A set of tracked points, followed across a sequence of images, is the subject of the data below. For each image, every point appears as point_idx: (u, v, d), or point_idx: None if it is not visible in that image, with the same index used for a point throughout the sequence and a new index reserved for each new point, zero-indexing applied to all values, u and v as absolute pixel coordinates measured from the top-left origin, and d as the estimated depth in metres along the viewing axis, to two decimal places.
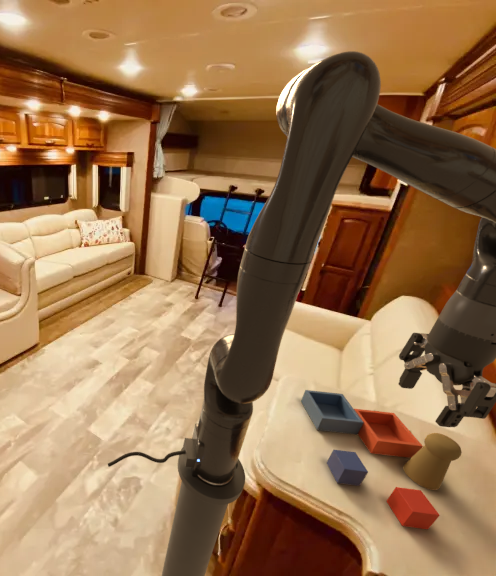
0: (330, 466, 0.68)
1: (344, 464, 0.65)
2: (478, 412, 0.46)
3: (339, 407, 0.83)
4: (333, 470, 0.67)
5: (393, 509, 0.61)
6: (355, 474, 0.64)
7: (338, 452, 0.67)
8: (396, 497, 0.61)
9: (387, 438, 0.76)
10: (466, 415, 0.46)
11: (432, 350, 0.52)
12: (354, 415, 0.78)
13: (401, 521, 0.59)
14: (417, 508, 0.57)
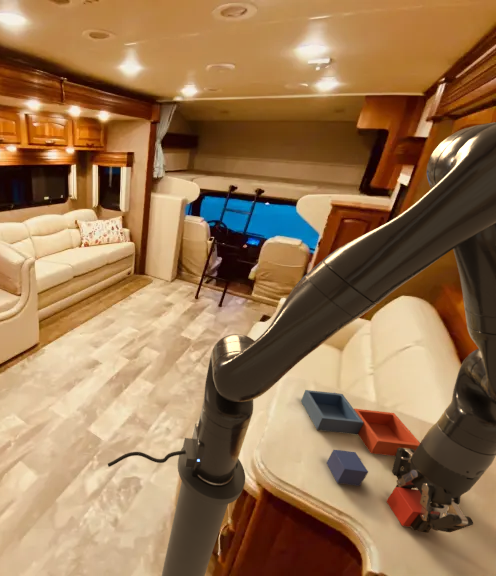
0: (330, 466, 0.68)
1: (344, 464, 0.65)
2: (445, 528, 0.53)
3: (339, 407, 0.83)
4: (333, 470, 0.67)
5: (393, 509, 0.61)
6: (355, 474, 0.64)
7: (338, 452, 0.67)
8: (396, 497, 0.61)
9: (387, 438, 0.76)
10: (434, 529, 0.54)
11: None
12: (354, 415, 0.78)
13: (401, 521, 0.59)
14: (417, 508, 0.57)
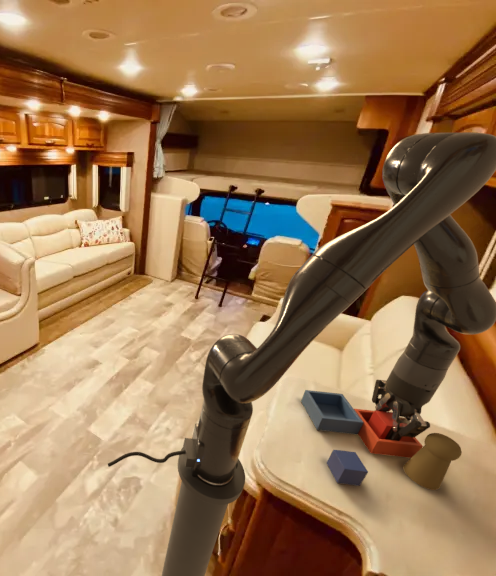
0: (330, 466, 0.68)
1: (344, 464, 0.65)
2: (410, 434, 0.68)
3: (339, 407, 0.83)
4: (333, 470, 0.67)
5: (372, 428, 0.76)
6: (355, 474, 0.64)
7: (338, 452, 0.67)
8: (374, 418, 0.75)
9: None
10: (402, 435, 0.69)
11: (390, 391, 0.73)
12: (354, 415, 0.78)
13: (378, 436, 0.74)
14: (390, 423, 0.72)
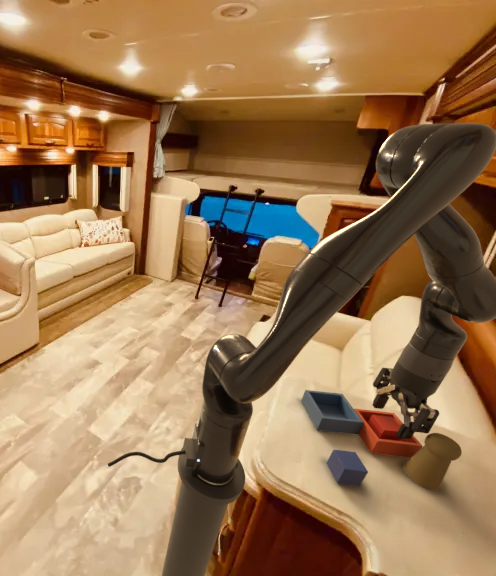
0: (330, 466, 0.68)
1: (344, 464, 0.65)
2: (423, 429, 0.65)
3: (339, 407, 0.83)
4: (333, 470, 0.67)
5: None
6: (355, 474, 0.64)
7: (338, 452, 0.67)
8: (372, 422, 0.76)
9: None
10: (415, 431, 0.66)
11: (395, 382, 0.72)
12: (354, 415, 0.78)
13: None
14: (388, 428, 0.73)
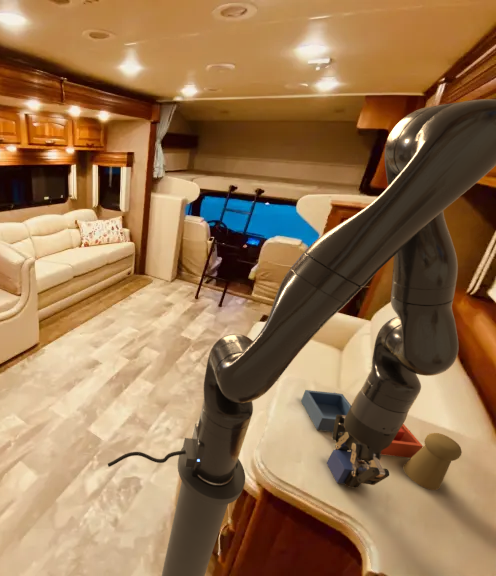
0: (330, 466, 0.68)
1: (344, 464, 0.65)
2: (369, 481, 0.60)
3: (339, 407, 0.83)
4: (333, 470, 0.67)
5: None
6: None
7: (338, 452, 0.67)
8: None
9: None
10: (360, 482, 0.61)
11: None
12: None
13: None
14: None
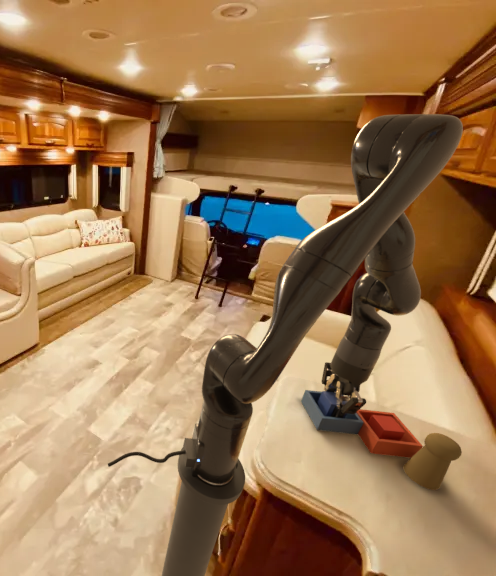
0: (320, 405, 0.81)
1: (331, 401, 0.78)
2: (350, 411, 0.74)
3: None
4: (322, 408, 0.80)
5: None
6: None
7: (326, 393, 0.80)
8: (372, 422, 0.76)
9: None
10: (343, 412, 0.74)
11: None
12: (354, 415, 0.78)
13: None
14: (388, 428, 0.73)
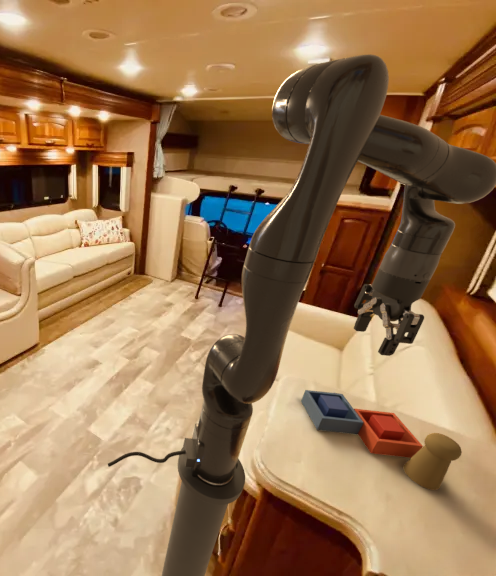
0: None
1: (329, 405, 0.78)
2: (407, 338, 0.58)
3: None
4: None
5: None
6: (337, 412, 0.78)
7: (324, 397, 0.81)
8: (372, 422, 0.76)
9: None
10: (398, 341, 0.58)
11: (377, 296, 0.65)
12: (354, 415, 0.78)
13: None
14: (388, 428, 0.73)
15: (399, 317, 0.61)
